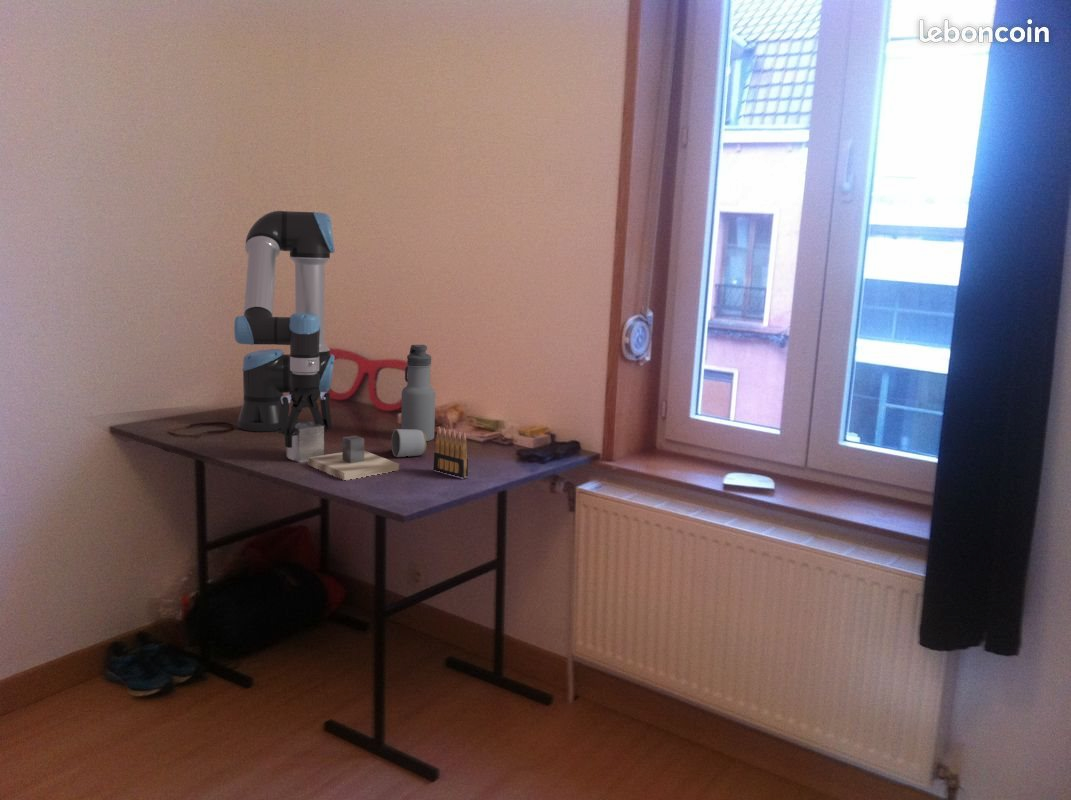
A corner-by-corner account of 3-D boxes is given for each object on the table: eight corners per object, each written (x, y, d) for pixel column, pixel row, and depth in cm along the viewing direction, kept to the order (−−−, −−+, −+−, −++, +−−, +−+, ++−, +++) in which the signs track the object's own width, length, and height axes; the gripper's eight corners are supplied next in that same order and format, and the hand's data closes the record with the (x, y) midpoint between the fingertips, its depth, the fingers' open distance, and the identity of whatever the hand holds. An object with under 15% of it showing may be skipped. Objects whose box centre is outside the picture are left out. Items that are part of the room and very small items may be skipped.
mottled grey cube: (286, 456, 245) (286, 424, 243) (310, 453, 250) (310, 421, 248) (299, 462, 240) (299, 429, 238) (324, 458, 244) (323, 425, 243)
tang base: (308, 464, 238) (307, 435, 236) (361, 456, 248) (361, 427, 247) (344, 480, 225) (344, 449, 223) (398, 471, 235) (399, 441, 234)
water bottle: (397, 435, 275) (398, 343, 269) (429, 434, 278) (431, 342, 273) (405, 443, 265) (406, 347, 260) (437, 442, 269) (440, 347, 263)
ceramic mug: (427, 457, 250) (428, 430, 249) (399, 460, 246) (399, 432, 245) (414, 449, 259) (414, 423, 258) (386, 451, 256) (386, 424, 254)
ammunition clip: (433, 471, 237) (434, 426, 235) (438, 470, 238) (439, 425, 236) (463, 479, 230) (464, 433, 228) (468, 478, 232) (469, 432, 230)
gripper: (276, 377, 231) (277, 465, 235) (345, 371, 244) (345, 454, 249) (262, 373, 236) (263, 459, 240) (331, 367, 250) (331, 449, 254)
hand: (305, 456), depth 245 cm, fingers closed on mottled grey cube, 7 cm apart
